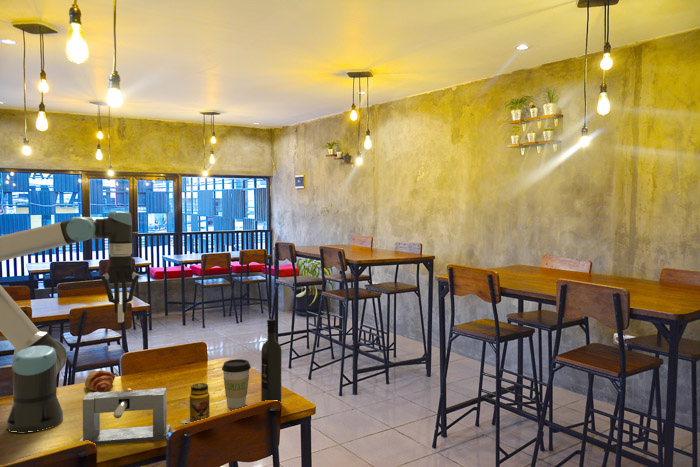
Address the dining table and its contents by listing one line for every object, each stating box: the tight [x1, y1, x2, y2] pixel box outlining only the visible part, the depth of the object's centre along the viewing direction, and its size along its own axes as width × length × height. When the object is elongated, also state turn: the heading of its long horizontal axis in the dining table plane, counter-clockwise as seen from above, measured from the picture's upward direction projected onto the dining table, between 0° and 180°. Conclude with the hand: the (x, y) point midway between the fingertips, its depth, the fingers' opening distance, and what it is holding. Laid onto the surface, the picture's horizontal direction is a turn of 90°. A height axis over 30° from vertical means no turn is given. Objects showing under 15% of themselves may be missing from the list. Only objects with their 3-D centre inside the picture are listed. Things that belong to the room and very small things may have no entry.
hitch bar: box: [79, 387, 171, 446], centre depth 151 cm, size 24×8×13 cm, turn 102°
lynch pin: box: [113, 387, 135, 419], centre depth 147 cm, size 5×14×5 cm, turn 12°
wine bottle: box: [260, 318, 283, 403], centre depth 178 cm, size 6×6×30 cm
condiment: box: [180, 382, 210, 424], centre depth 163 cm, size 7×8×12 cm
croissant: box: [84, 369, 116, 392], centre depth 195 cm, size 21×10×8 cm, turn 35°
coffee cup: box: [221, 358, 251, 409], centre depth 177 cm, size 10×10×15 cm
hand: (121, 321), depth 180 cm, fingers closed
